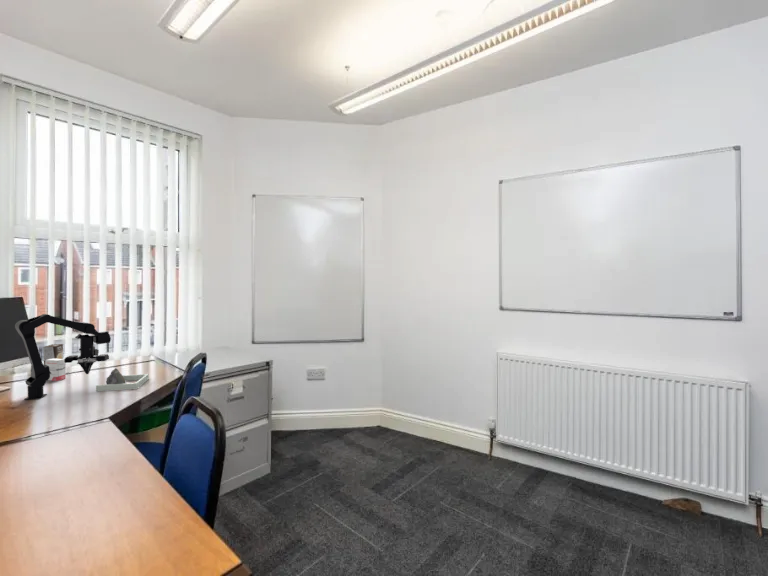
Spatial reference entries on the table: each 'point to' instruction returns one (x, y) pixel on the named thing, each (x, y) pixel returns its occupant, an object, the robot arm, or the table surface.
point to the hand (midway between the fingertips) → (87, 373)
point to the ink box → (56, 369)
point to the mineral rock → (115, 378)
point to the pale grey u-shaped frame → (140, 377)
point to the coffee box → (53, 352)
